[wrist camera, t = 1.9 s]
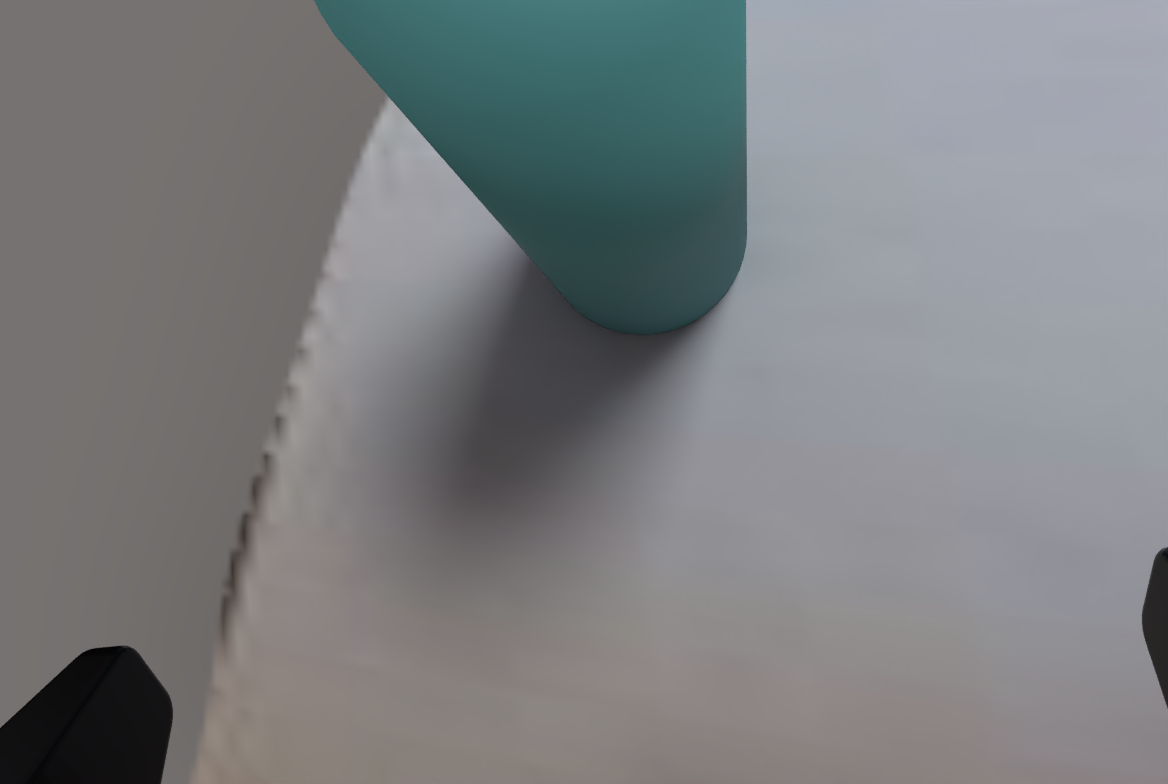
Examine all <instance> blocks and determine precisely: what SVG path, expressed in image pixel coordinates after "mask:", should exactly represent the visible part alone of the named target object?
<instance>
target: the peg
mask: <svg viewBox="0 0 1168 784" xmlns="http://www.w3.org/2000/svg"><path fill="white" fill-rule="evenodd" d="M315 2H316V5H317V7H318V9H319V11H320V13H321V15H322V16H323V18H324V19H325V21H326V22H327V24H328V25H329V27H330V29H331V30H332V32H333V33H334V35H335V36H336V37H337V38H338V40H339V41H340V42H341V43H342V44H343V45H344V46H345V48H346V49H347V50H348V51H349V52H350V53H351V54H352V55H353V57H355V59H356V60H357V61H358V62H359V63H360V65H361V66H362V67H363V68H364V69H365V70H366V71H367V73H368V74H369V75H370V76H371V77H372V78H373V79H374V81H376V83H377V84H378V85H379V86H380V87H381V89H382V90H383V91H384V92H385V93H386V94H387V95H388V97H389V98H390V99H391V100H392V101H393V102H394V103H395V105H396V106H397V107H398V108H399V109H400V110H401V111H402V113H403V114H404V115H405V116H406V117H407V118H408V119H409V120H410V122H411V123H412V124H413V125H414V126H415V127H416V128H417V130H418V131H419V132H420V133H421V134H422V135H423V136H424V138H425V139H426V140H427V141H428V142H429V143H430V144H431V146H432V147H433V148H434V149H435V150H436V151H437V152H438V154H439V155H440V156H441V157H442V158H443V159H444V160H445V162H446V163H447V164H448V165H449V166H450V167H451V168H452V170H453V171H454V172H455V173H456V174H457V175H458V176H459V178H460V179H461V180H462V181H463V182H464V183H465V184H466V185H467V187H468V188H469V189H470V190H471V191H472V192H473V193H474V195H475V196H476V197H477V198H478V199H479V200H480V201H481V203H482V204H483V205H484V206H485V207H486V208H487V209H488V211H489V212H490V213H491V214H492V215H493V216H494V217H495V219H496V220H497V221H498V222H499V223H500V224H501V225H502V227H503V228H504V229H505V230H506V231H507V232H508V233H509V235H510V236H511V237H512V238H513V239H514V240H515V241H516V242H517V244H518V245H519V246H520V247H521V248H522V249H523V250H524V252H525V253H526V254H527V255H528V256H529V257H530V258H531V260H532V261H533V262H534V263H535V264H536V265H537V266H538V268H539V269H540V270H541V271H542V272H543V273H544V274H545V276H546V277H547V278H548V279H549V280H550V281H551V282H552V284H553V285H554V286H555V287H556V288H557V289H558V290H559V292H560V293H561V294H562V295H563V296H564V297H565V298H566V299H567V301H568V302H569V303H570V304H571V305H572V306H573V307H574V308H575V309H576V310H577V311H578V312H580V313H581V314H582V315H583V316H585V317H586V318H588V319H589V320H591V321H592V322H594V323H596V324H598V325H600V326H602V327H604V328H607V329H610V330H613V331H617V332H621V333H627V334H637V335H648V334H659V333H663V332H668V331H672V330H675V329H677V328H680V327H683V326H685V325H687V324H689V323H691V322H693V321H695V320H697V319H698V318H700V317H701V316H703V315H704V314H706V313H707V312H708V311H709V310H710V309H711V308H713V307H714V306H715V305H716V304H717V303H718V302H719V301H720V300H721V298H722V297H723V296H724V295H725V294H726V292H727V291H728V289H729V288H730V287H731V285H732V284H733V282H734V280H735V278H736V276H737V274H738V272H739V270H740V267H741V264H742V261H743V258H744V253H745V248H746V238H747V147H746V0H315Z"/></svg>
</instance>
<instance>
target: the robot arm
mask: <svg viewBox="0 0 1168 784" xmlns="http://www.w3.org/2000/svg"><path fill="white" fill-rule="evenodd" d="M1142 626H1143V633H1144V638H1145V641H1146V644H1147V647H1148V651H1149V654H1150V657H1151V660H1152V663H1153V666H1154V669H1155V672H1156V675H1157V678H1158V681H1159V684H1160V687H1161V690H1162V693H1163V696H1164V699H1165V702H1166V705H1167V708H1168V547H1167V548H1163V549H1162V550H1160V551H1159V552H1158V553H1157V555H1156V557H1155V559H1154V562H1153V567H1152V571H1151V576H1150V580H1149V584H1148V589H1147V593H1146V597H1145V602H1144V606H1143V611H1142ZM172 720H173V708H172V702H171V699H170V696H169V694H168V692H167V691H166V690H165V688H164V687H163V686H162V684H161V683H160V682H159V680H158V679H157V677H156V676H155V675H154V673H153V672H152V671H151V669H150V668H149V667H148V665H147V664H146V663H145V661H144V660H143V659H142V657H141V656H140V654H139V653H138V652H137V651H136V650H135V649H133V648H131V647H129V646H113V647H102V648H94V649H90V650H87V651H85V652H83V653H82V654H80V655H79V656H78V657H77V658H75V659H74V660H73V661H72V662H71V663H70V664H69V665H68V666H67V667H66V668H65V669H63V670H62V671H61V672H60V673H59V674H58V675H57V676H56V677H55V678H54V679H53V680H52V681H51V682H49V683H48V684H47V685H46V686H45V687H44V688H43V689H42V690H41V691H40V692H39V693H38V694H36V695H35V696H34V697H33V698H32V699H31V700H30V701H29V702H28V703H27V704H26V705H25V706H24V707H23V708H21V709H20V710H19V711H18V712H17V713H16V714H15V715H14V716H13V717H12V718H11V719H10V720H8V721H7V722H6V723H5V724H4V725H3V726H2V727H1V728H0V784H161V780H162V775H163V770H164V764H165V759H166V754H167V748H168V743H169V738H170V732H171V727H172Z"/></svg>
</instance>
